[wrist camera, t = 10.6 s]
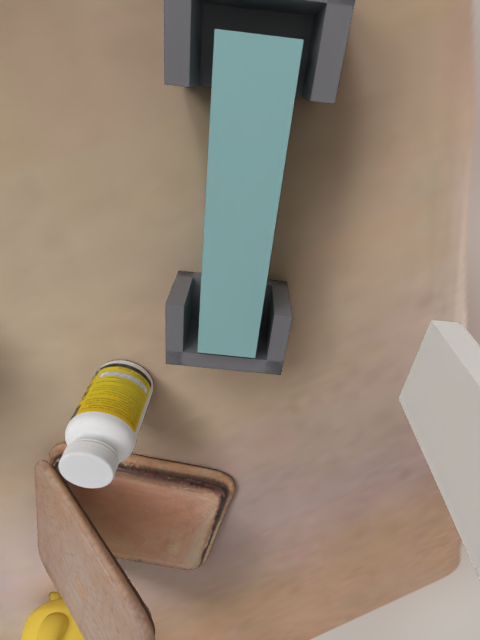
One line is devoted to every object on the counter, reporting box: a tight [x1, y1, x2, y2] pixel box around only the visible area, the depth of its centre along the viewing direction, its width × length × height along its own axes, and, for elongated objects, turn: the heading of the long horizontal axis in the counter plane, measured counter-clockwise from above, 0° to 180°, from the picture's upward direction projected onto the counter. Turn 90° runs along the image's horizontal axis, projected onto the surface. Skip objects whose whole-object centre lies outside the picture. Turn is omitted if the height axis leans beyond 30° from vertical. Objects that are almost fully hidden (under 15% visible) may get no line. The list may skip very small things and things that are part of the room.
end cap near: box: [164, 0, 355, 104], centre depth 20 cm, size 5×8×5 cm, turn 84°
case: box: [35, 442, 235, 640], centre depth 40 cm, size 20×21×16 cm
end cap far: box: [166, 271, 292, 375], centre depth 29 cm, size 5×8×5 cm, turn 84°
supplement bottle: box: [58, 360, 153, 488], centre depth 32 cm, size 5×5×10 cm
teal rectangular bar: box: [197, 29, 304, 358], centre depth 24 cm, size 18×4×5 cm, turn 174°
